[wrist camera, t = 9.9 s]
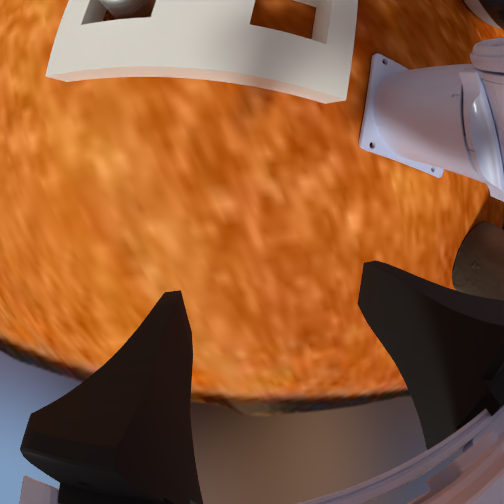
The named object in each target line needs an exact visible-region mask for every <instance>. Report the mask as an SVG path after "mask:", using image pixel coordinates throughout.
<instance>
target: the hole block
mask: <svg viewBox="0 0 504 504" xmlns="http://www.w3.org/2000/svg"><path fill="white" fill-rule="evenodd" d="M293 1H296V2H300V3H303V4H307V5H310V6H313V7H316V13H315V20H314V26H313V32H312V39H308V38H305V37H302V36H298V35H294V34H291V33H287V32H283V31H279V30H274V29H270V28H265V27H260V26H255V25H250V20H251V16H252V12H253V7H254V3H255V0H156V2H155V5H154V8H153V11H152V14H151V17H145V18H129V19H118V20H110V21H103V19H104V16H105V13H106V11H107V9H106V8H105V7H104V6H103V4H102V3H101V2H100V1H99V0H69V2H68V4H67V7H66V9H65V12H64V14H63V17H62V20H61V23H60V26H59V29H58V32H57V35H56V38H55V41H54V45H53V48H52V52H51V56H50V60H49V64H48V68H47V72H46V77H50V78H54V79H58V80H61V81H65V82H70V81H78V80H87V79H98V78H112V77H176V78H191V79H203V80H212V81H221V82H228V83H235V84H241V85H248V86H253V87H259V88H264V89H269V90H274V91H278V92H283V93H287V94H291V95H295V96H299V97H303V98H307V99H311V100H314V101H318V102H321V103H325V104H326V103H332V102H338V101H344V100H346V97H347V90H348V84H349V77H350V70H351V63H352V55H353V47H354V39H355V30H356V20H357V8H358V0H293Z"/></svg>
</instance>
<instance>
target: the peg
mask: <svg viewBox="0 0 504 504" xmlns="http://www.w3.org/2000/svg"><path fill="white" fill-rule="evenodd" d="M99 1H100V2H101V3H102V4H103V6H104V7H105V8H106V9H107V10H108V11H109V12H110V13H111V14H112V16H113V17H114V18H115V19H116V20H118V19H129V18H145V17H150V16H151V14H152V11H153V8H154V5H155V2H156V0H99Z"/></svg>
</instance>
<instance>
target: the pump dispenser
mask: <svg viewBox="0 0 504 504" xmlns="http://www.w3.org/2000/svg"><path fill="white" fill-rule="evenodd" d="M463 1H464V3H465V4H466V5H467V6H468V8H469V9H470V10H471V11H472V12H473V13H474V14H475V15H476V16H477V17H478V18H480V19H481V20H482V21H484V22H485V23H487V24H489V25H491V26H494V27H497V28H501V29H503V30H504V0H463Z"/></svg>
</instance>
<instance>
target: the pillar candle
mask: <svg viewBox="0 0 504 504" xmlns="http://www.w3.org/2000/svg"><path fill="white" fill-rule="evenodd" d="M452 279H453V285H454V287H455V289H456V290H457V291H459V292H463V293H466V294H470V295H475V296H479V297H484V298H490V299H497V300H504V230H502V229H501V228H499V227H497V226H495V225H493V224H491V223H488V222H481V223H479V224H478V225H477V226H476V227H475V228H474V229H473V230H472V231H471V232H470V233H469V234H468V235H467V237H466V239H465V240H464V242H463V244H462V246H461V247H460V249H459V252H458V255H457V257H456V262H455V265H454V268H453V273H452Z"/></svg>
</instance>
